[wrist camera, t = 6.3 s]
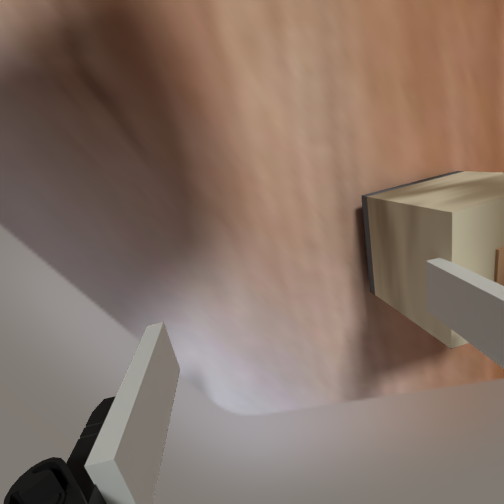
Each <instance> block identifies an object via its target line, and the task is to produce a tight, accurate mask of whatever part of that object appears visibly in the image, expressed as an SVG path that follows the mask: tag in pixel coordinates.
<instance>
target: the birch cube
mask: <svg viewBox="0 0 504 504" xmlns="http://www.w3.org/2000/svg"><path fill="white" fill-rule="evenodd" d="M362 206H363V217H364V228H365V239H366V250H367V261H368V272H369V283H370V292H372V293H373V294H374V295H376V296H377V297H379V298H380V299H381V300H383V301H384V302H386V303H387V304H389V305H390V306H391V307H393V308H394V309H396V310H397V311H398V312H400V313H401V314H403V315H404V316H405V317H407V318H408V319H410V320H411V321H413V322H414V323H415V324H417V325H418V326H420V327H421V328H422V329H424V330H425V331H427V332H428V333H430V334H431V335H432V336H434V337H435V338H437V339H438V340H439V341H441V342H442V343H444V344H445V345H447V346H448V347H449V348H451V349H452V348H455V347H458V346H461V345H463V344H466V343H469V342H468V341H466V340H465V339H464V338H462V337H461V336H460V335H458V334H457V333H456V332H454V331H453V330H452V329H450V328H449V327H448V326H446V325H445V324H444V323H442V322H441V321H440V320H438V319H437V318H436V317H435V316H433V315H432V314H431V313H429V312H428V311H427V293H426V261H428V260H432V259H436V258H442V259H445V260H448V261H450V262H453V263H455V264H457V265H459V266H461V267H463V268H466V269H468V270H470V271H472V272H474V273H476V274H479V275H481V276H483V277H485V278H487V279H489V280H492V281H494V282H496V283H498V284H500V285H502V286H504V173H501V172H467V171H456V172H452V173H447V174H444V175H440V176H436V177H432V178H428V179H424V180H420V181H416V182H412V183H409V184H405V185H401V186H397V187H393V188H389V189H385V190H381V191H377V192H374V193H370V194H366V195H362Z"/></svg>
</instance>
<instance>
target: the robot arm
mask: <svg viewBox="0 0 504 504" xmlns="http://www.w3.org/2000/svg"><path fill="white" fill-rule="evenodd" d="M426 293H427V311H428V312H429V313H431V314H432V315H433V316H435V317H436V318H437V319H438V320H440V321H441V322H442V323H444V324H445V325H446V326H448V327H449V328H450V329H452V330H453V331H454V332H456V333H457V334H458V335H460V336H461V337H462V338H464V339H465V340H466V341H468V342H469V343H470V344H472V345H473V346H474V347H476V348H477V349H478V350H480V351H481V352H482V353H484V354H485V355H486V356H488V357H489V358H490V359H492V360H493V361H494V362H496V363H497V364H498V365H499V366H501V367H502V368H503V369H504V286H502V285H500V284H498V283H496V282H494V281H492V280H489V279H487V278H485V277H483V276H481V275H479V274H476V273H474V272H472V271H470V270H468V269H466V268H463V267H461V266H459V265H457V264H455V263H453V262H450V261H448V260H445V259H442V258H436V259H432V260H428V261H426ZM179 372H180V368H179V365H178V362H177V359H176V356H175V353H174V351H173V348H172V345H171V342H170V339H169V336H168V334H167V331H166V328H165V325H164V322H162V323H157V324H153V325H149V326H147V328H146V330H145V332H144V334H143V337H142V339H141V341H140V343H139V346H138V348H137V350H136V353H135V355H134V357H133V359H132V361H131V363H130V366H129V368H128V371H127V372H126V375H125V377H124V379H123V381H122V383H121V386H120V388H119V390H118V392H117V395H116V396H115V397H111V398H107V399H104V400H103V401H102V402H101V403H100V404H99V406H97V408H96V409H95V410H94V411H93V412H92V414H91V416H90V418H89V420H88V422H87V424H86V428H84V430H83V432H82V434H81V436H80V439H78V441H77V443H76V446H75V448H74V449H73V451H72V453H71V455H70V457H69V459H68V461H67V463H65V462H64V461H63V460H62V459H61V458H55V457H53V458H49V459H46V460H43V461H41V462H40V463H38V464H36V465H35V466H33V467H31V468H30V469H29V470H28V471H27V472H25V473H24V474H23V475H22V476H20V478H19V479H18V480H17V481H16V482H15V483H14V484H13V486H12V487H11V488H10V490H9V492H8V494H7V495H6V497H5V499H4V504H153V500H154V495H155V490H156V485H157V480H158V475H159V470H160V465H161V460H162V456H163V450H164V445H165V440H166V436H167V431H168V426H169V421H170V416H171V411H172V406H173V402H174V397H175V392H176V387H177V382H178V377H179Z"/></svg>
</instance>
